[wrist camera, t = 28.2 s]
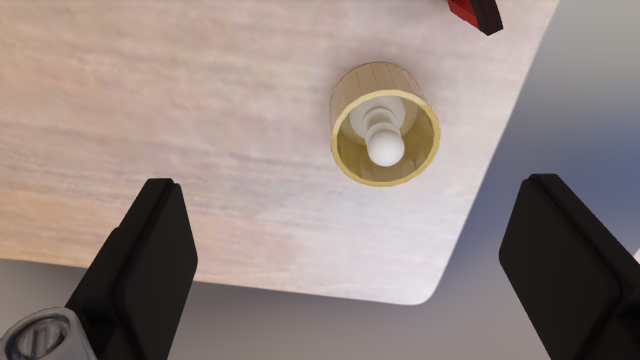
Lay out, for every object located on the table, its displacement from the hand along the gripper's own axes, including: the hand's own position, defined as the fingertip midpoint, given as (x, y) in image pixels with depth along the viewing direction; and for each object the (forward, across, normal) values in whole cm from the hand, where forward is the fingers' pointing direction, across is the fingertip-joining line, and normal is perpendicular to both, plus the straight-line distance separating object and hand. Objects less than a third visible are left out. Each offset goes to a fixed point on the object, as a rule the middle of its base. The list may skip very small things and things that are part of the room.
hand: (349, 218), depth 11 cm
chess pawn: (+26, -5, +8) cm, 28 cm away
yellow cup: (+26, -5, +8) cm, 28 cm away
